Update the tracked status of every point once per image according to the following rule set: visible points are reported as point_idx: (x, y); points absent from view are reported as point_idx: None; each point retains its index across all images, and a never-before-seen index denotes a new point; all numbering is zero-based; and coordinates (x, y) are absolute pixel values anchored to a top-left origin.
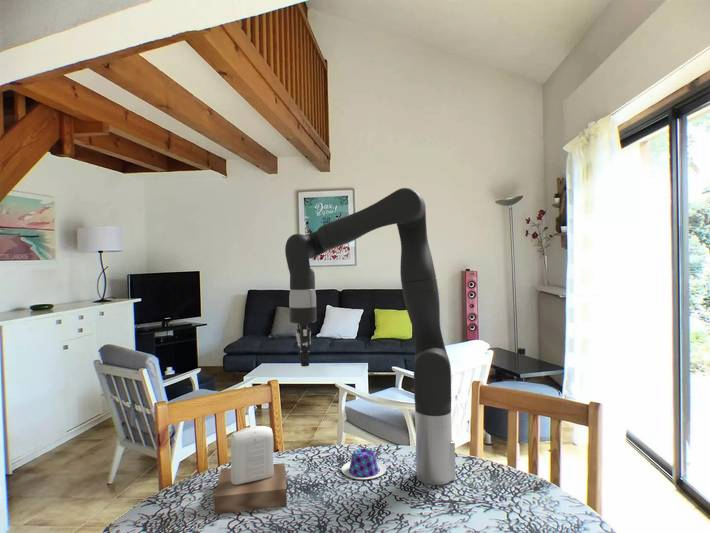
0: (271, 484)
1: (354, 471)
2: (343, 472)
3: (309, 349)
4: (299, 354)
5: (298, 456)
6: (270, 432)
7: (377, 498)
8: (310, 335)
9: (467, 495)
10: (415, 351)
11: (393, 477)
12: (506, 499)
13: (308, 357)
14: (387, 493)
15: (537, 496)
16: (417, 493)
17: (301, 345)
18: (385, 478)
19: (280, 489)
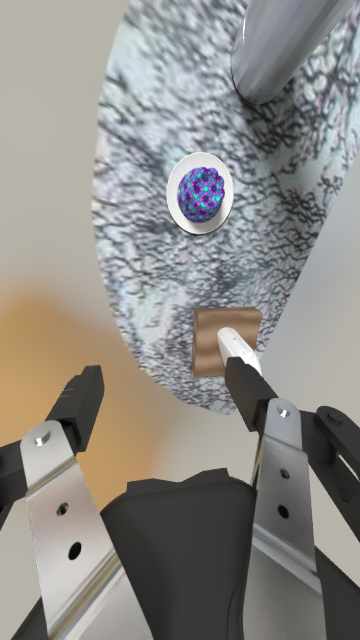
0: (247, 327)
1: (213, 215)
2: (203, 232)
3: (344, 417)
4: (97, 412)
5: (132, 290)
6: (256, 358)
7: (278, 200)
8: (257, 537)
9: (334, 28)
10: None
11: (235, 151)
12: None
13: (255, 380)
14: (273, 180)
15: None
16: (291, 129)
17: (350, 479)
18: (234, 167)
19: (261, 318)
